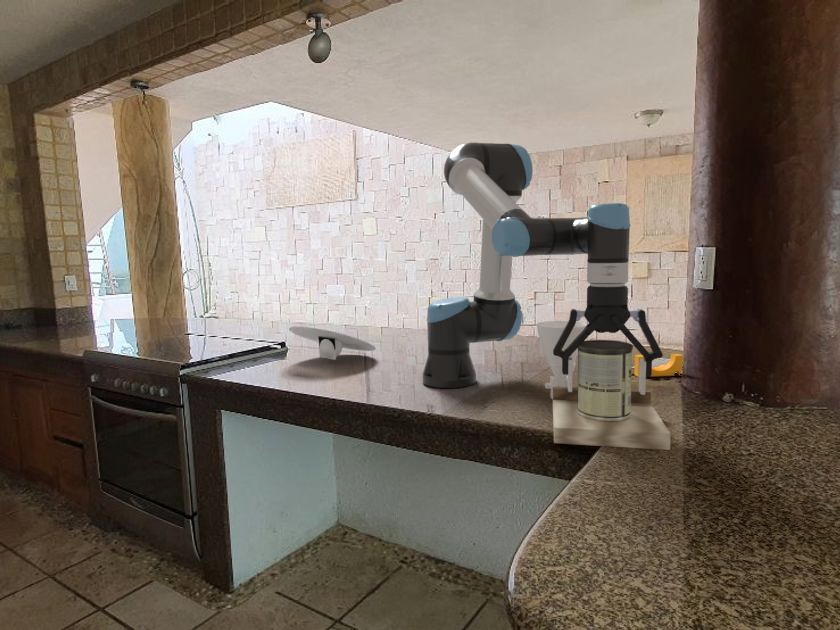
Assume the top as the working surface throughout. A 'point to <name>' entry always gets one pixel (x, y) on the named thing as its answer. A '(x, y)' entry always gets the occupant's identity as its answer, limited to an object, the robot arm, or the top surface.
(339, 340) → the grey cake stand
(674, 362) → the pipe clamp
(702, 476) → the top surface
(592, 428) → the birch platform
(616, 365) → the coffee can
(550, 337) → the rocket engine
